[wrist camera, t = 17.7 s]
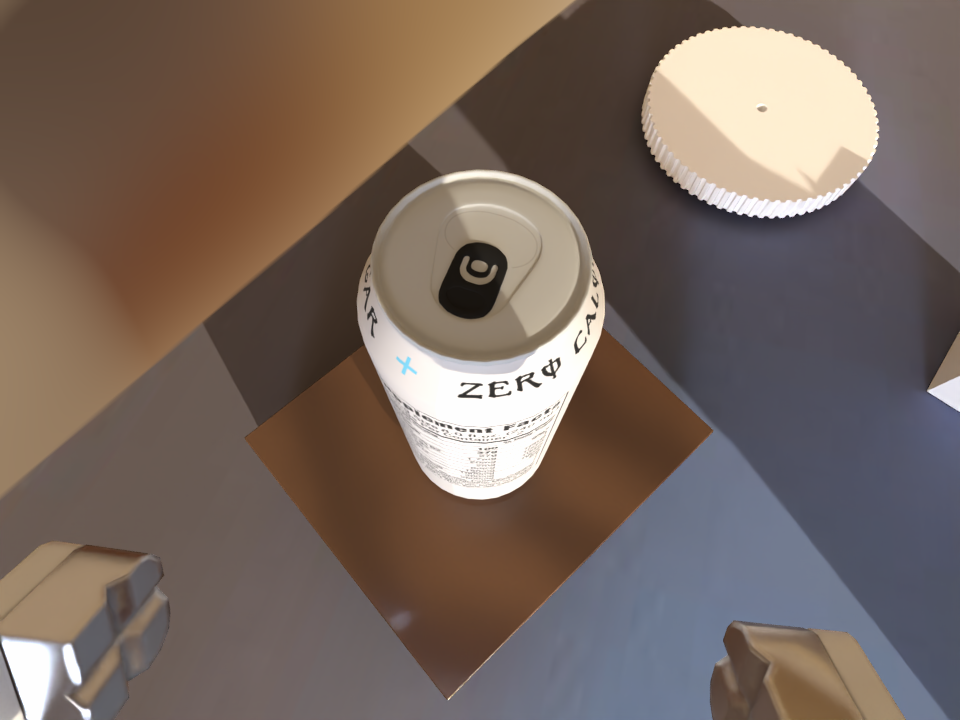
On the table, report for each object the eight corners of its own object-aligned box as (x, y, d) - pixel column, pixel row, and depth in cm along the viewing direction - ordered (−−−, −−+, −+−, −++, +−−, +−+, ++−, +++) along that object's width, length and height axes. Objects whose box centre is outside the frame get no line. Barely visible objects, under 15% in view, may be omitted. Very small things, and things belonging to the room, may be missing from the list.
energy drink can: (562, 397, 27) (651, 191, 13) (521, 523, 25) (575, 433, 11) (441, 355, 28) (406, 119, 14) (391, 474, 26) (292, 334, 12)
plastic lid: (593, 118, 39) (601, 88, 37) (743, 29, 42) (759, -4, 40) (745, 267, 35) (765, 244, 33) (900, 157, 38) (927, 128, 36)
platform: (500, 278, 35) (503, 235, 31) (682, 453, 31) (714, 430, 27) (275, 459, 31) (243, 437, 27) (452, 685, 27) (447, 701, 23)
